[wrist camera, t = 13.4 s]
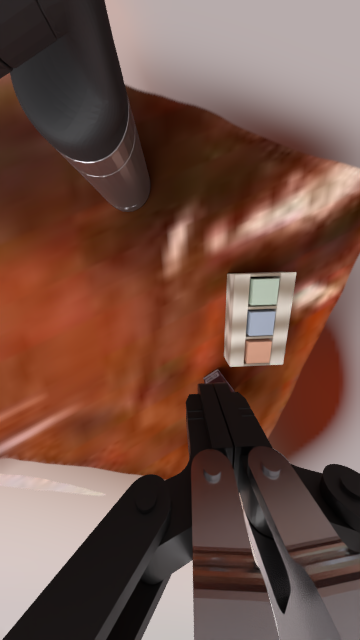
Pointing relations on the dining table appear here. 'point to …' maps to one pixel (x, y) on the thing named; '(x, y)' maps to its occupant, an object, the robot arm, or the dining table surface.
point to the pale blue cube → (260, 322)
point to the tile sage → (263, 291)
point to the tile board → (239, 308)
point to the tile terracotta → (257, 350)
